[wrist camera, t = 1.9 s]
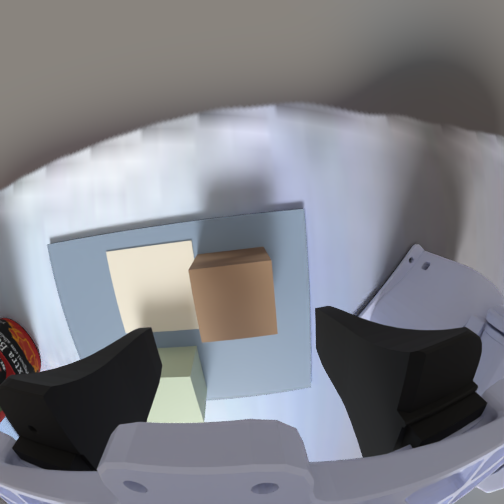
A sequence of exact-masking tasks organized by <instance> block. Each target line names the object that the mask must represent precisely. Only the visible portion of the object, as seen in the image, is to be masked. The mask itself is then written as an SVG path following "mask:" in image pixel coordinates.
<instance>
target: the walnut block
mask: <svg viewBox="0 0 504 504" xmlns="http://www.w3.org/2000/svg"><path fill="white" fill-rule="evenodd" d="M188 271H189V277H190V283H191V289H192V295H193V300H194V305H195V311H196V316H197V321H198V326H199V331H200V336H201V340H202V343H203V342H215V341H225V340H235V339H244V338H252V337H260V336H267V335H275V334H278V330H277V318H276V306H275V294H274V283H273V271H272V260H271V259H270V257H269V255H268V253H267V252H266V250H265V248H264V247H256V248H247V249H239V250H230V251H222V252H213V253H205V254H197V256H196V257H195V259H194V261H193V263H192V264H191V266H190V268H189V270H188Z"/></svg>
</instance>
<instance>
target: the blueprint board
mask: <svg viewBox="0 0 504 504" xmlns="http://www.w3.org/2000/svg"><path fill="white" fill-rule="evenodd" d="M47 246H48V252H49V257H50V261H51V266H52V271H53V275H54V279H55V283H56V287H57V291H58V294H59V298H60V301H61V305H62V308H63V312H64V315H65V318H66V321H67V324H68V327H69V330H70V333H71V336H72V338H73V341H74V344H75V346H76V349H77V352H78V354H79V357H80V359H83V358H86V357H88V356H90V355H92V354H94V353H96V352H97V351H99V350H101V349H103V348H105V347H106V346H108V345H110V344H111V343H113V342H115V341H116V340H118V339H120V338H121V337H123V336H124V335H126V334H128V333H129V332H131V331H133V330H135V329H138V328H146V327H151V328H152V331H153V335H154V339H155V342H156V346H157V348H170V347H187V346H197V350H198V354H199V359H200V363H201V367H202V371H203V375H204V379H205V383H206V387H207V397H206V400H220V399H232V398H242V397H251V396H260V395H267V394H274V393H281V392H287V391H293V390H299V389H304V388H310V387H311V329H310V297H309V275H308V257H307V242H306V228H305V216H304V209H294V210H283V211H273V212H264V213H254V214H245V215H237V216H228V217H220V218H212V219H204V220H196V221H188V222H181V223H174V224H167V225H160V226H153V227H146V228H140V229H133V230H127V231H120V232H114V233H108V234H102V235H96V236H91V237H85V238H79V239H74V240H68V241H63V242H58V243H52V244H48V245H47ZM256 247H264V248H265V250H266V252H267V253H268V255H269V257H270V259H271V260H272V271H273V283H274V294H275V306H276V318H277V330H278V334H275V335H267V336H260V337H252V338H244V339H235V340H225V341H215V342H203V343H202V340H201V336H200V331H199V326H198V321H197V316H196V311H195V305H194V300H193V295H192V289H191V283H190V277H189V271H188V270H189V268H190V266H191V264H192V263H193V261H194V259H195V257H196V256H197V254H205V253H213V252H222V251H230V250H239V249H247V248H256Z"/></svg>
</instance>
